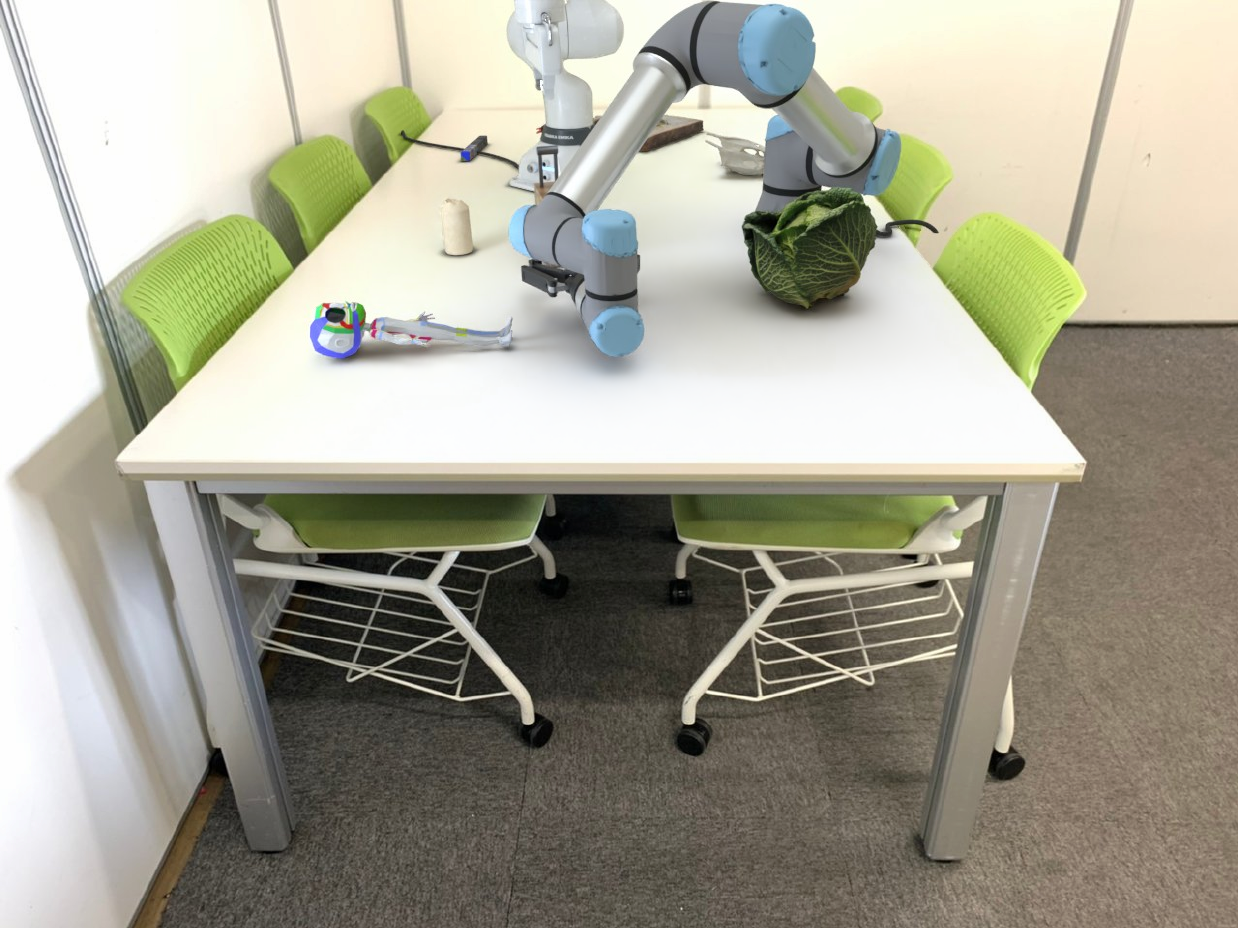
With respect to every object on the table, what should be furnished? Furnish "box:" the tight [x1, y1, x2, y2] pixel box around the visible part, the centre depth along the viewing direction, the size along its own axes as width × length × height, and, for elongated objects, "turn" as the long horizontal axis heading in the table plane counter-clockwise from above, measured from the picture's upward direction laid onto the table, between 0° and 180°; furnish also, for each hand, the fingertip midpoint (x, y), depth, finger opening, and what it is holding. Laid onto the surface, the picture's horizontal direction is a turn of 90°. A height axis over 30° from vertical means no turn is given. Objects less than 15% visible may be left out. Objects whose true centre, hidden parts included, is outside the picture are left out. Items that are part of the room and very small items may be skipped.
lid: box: [534, 145, 559, 201], centre depth 167 cm, size 17×5×9 cm, turn 13°
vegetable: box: [741, 187, 878, 310], centre depth 148 cm, size 20×19×20 cm
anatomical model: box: [705, 131, 765, 176], centre depth 220 cm, size 15×9×25 cm
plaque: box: [593, 114, 705, 152], centre depth 257 cm, size 30×7×30 cm
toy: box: [307, 300, 513, 360], centre depth 136 cm, size 10×8×30 cm
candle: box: [439, 198, 474, 256], centre depth 173 cm, size 6×6×10 cm
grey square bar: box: [460, 135, 489, 162], centre depth 244 cm, size 2×2×20 cm
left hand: (544, 94), depth 164 cm, fingers open, 8 cm apart
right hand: (572, 252), depth 157 cm, fingers open, 13 cm apart
